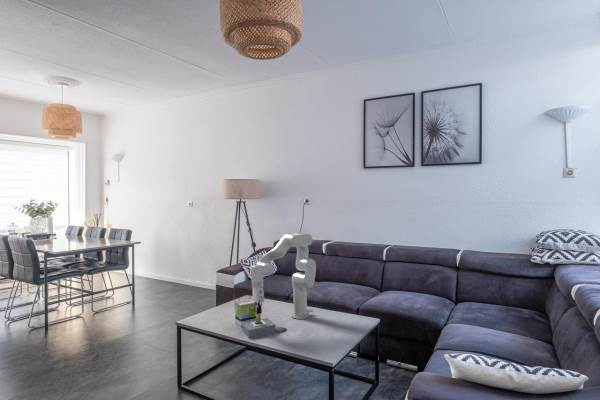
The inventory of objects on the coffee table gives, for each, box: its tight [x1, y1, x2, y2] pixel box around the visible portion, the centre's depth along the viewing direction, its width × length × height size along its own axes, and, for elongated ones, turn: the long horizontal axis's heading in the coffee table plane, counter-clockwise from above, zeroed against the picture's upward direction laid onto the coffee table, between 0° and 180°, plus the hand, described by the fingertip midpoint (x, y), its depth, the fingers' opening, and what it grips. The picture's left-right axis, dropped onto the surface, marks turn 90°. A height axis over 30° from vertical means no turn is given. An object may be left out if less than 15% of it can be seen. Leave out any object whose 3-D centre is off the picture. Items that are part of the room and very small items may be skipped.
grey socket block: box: [241, 318, 277, 339], centre depth 231 cm, size 18×14×6 cm
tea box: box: [234, 298, 262, 328], centre depth 247 cm, size 15×10×15 cm, turn 123°
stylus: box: [256, 303, 262, 322], centre depth 231 cm, size 3×3×12 cm
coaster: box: [276, 326, 287, 334], centre depth 232 cm, size 8×8×1 cm
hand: (258, 312), depth 231 cm, fingers closed on stylus, 3 cm apart
